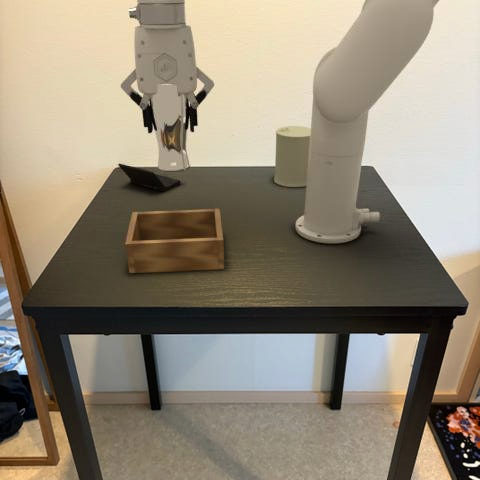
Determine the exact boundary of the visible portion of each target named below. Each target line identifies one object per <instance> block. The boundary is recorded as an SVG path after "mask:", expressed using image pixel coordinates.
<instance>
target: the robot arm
mask: <svg viewBox="0 0 480 480" xmlns="http://www.w3.org/2000/svg"><path fill="white" fill-rule="evenodd" d="M439 1H440V0H365V1H364V2H363V4H362V7H361V11H360V13H359V15H358V16H357V17H356V19H355V21H354V22H353V23H352V25H351V26H350V28H349V29H348V30H347V32H346V33H345V35H344V36H343V38H341V40H340V41H339V43H338V44H337V46H335V47H333V48H331V49H330V50H328V51H327V52H326V53H325V54H324V55H323V56H322V57H321V58H320V60H319V61H318V64H317V66H316V68H315V71H314V75H313V80H312V82H313V83H312V109H311V122H310V128H311V133H310V146H309V157H308V170H307V183H306V186H305V198H304V199H305V200H304V212H303V215H301V216H300V217H298V218H297V219H296V221H295V227H294V228H295V231H296V233H297V234H298V235H299V236H300V237H302V238H304V239H306V240H309V241H311V242H314V243H322V244H328V245H329V244H344V243H348V242H351V241H353V240H355V239H357V238H358V237H359V236H360V235H361V231H362V225H363V223H379V222H380V219H381V215H380V212H379V211H370V209H369V208H358V207H357V199H358V194H359V193H358V192H359V185H360V179H361V171H362V170H361V169H362V163H363V155H364V151H365V144H366V137H367V130H368V129H367V127H368V120H369V112H370V110H371V109H372V108H373V107H374V106H375V105H376V103H377V102H378V101H379V100H380V98H381V97H383V95H384V94H385V93H386V91H387V90H388V89H389V88H390V86H391V85H392V84H393V83H394V81H395V80H396V79H397V78H398V77H399V75H400V74H401V73H402V71H403V70H405V68H406V67H407V66H408V64H409V63H410V62H411V60H412V59H413V58H414V57H415V56H416V55H417V54H418V52H419V50H420V49H421V48H422V46H423V45H424V43H425V41H426V39H427V38H428V36H429V33H430V31H431V29H432V26H433V22H434V16H435V15H434V11H435V10H434V9H435V7H436V5H437V4H438V2H439ZM136 2H137V3H136V5H135V6H134V7H132V8H131V7H130V8H128V16H129V18H130V19H134V20H136V21H138V24H139V25H138V26H135V27H134V39H133V41H134V42H133V43H134V63H135V64H134V65H135V66H134V67H135V68H134V69H133V70H132V71H131V72H130V73H129V75H128V76H127V77H125V78H124V80H123V81H122V82H121V84H120V88H121V90H123V92H125V94H126V95H127V96H128V97H130V98H129V99H130V100H132V101H133V102H134V103H135V104H136V105H137V106H138V107H139V109H140V110H141V114H142V122H143V123H142V124H143V128H147V134H152V133H153V131H154V127H153V123H152V118H151V113H150V104H149V99H150V95H155V94H156V93H157V88H158V85H157V84H173V83H176V84H177V90H178V93H180V94H186V96H187V98H188V100H189V132H191V133H195V127H198V126H199V121H198V108H199V106H200V105H201V104H202V103H203V101H204V100H205V99H206V98H207V96H208V95H209V93H210V92H211V91H212V89H213V88H214V87H215V82H214V80H213V79H212V78H211V77H209V76H208V75H207V74H206V73H205V72H203V70H201V69H200V68H199V67H198V66H197V59H196V50H195V49H196V48H195V41H194V35H193V32H192V27H191V26H190V25H188V24H187V17H186V16H187V15H186V3H185V2H186V0H136ZM198 80H199V81H200V82H201V83H202V84H203V87H202V88H201V89H200V90H199V92H198V93H197V94H196V93H195V92H196V90H197V88H198ZM135 82H136V85H137V90H138V92H137V91H136V90H135V89H134V88H133V86H132V85H133V84H134V83H135ZM139 93H141V94H142V95H140V94H139Z"/></svg>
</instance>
